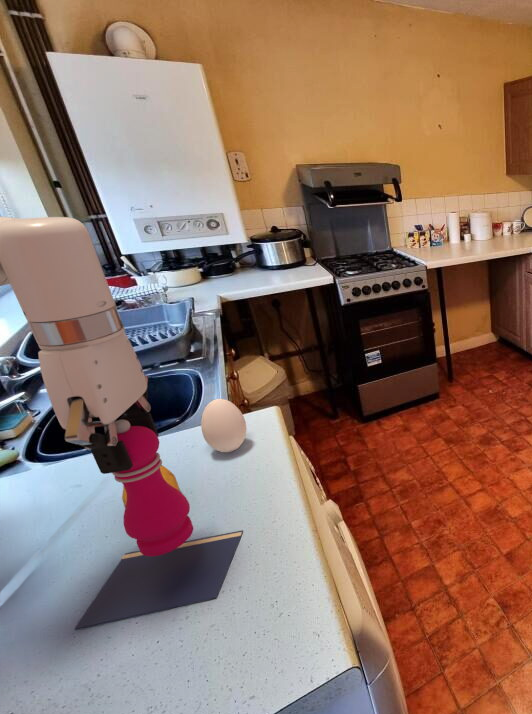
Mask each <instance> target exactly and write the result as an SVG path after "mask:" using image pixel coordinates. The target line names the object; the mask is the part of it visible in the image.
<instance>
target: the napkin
mask: <svg viewBox="0 0 532 714" xmlns="http://www.w3.org/2000/svg"><path fill="white" fill-rule="evenodd" d="M243 533H244V530H243V529H241V530H237V531H236V530H235V531H231V532H226V533H221V534H217V535H210V536H207V537H201V538H196V539H189V540H186V541H185V542H184V543H183V544H182V545H181V546H179V547H178V548H176V549H174V550H172V551H170V552H168V553H165V554H163V555H159V556H145V555H143V554H142V553H141V552H140V550H139V549H138V550H135V551H130V552H126V553H124V554H123V555H122V557H121V559H120V560H119V562H118V564H117V565H116V567H115V568H114V569H113V571H112V573H111V574H110V575H109V577H108V578H107V580H106V581H105V583H104V584H103V585H102V587H101V589H100V590H99V592H98V593H97V595H95V597H94V598H93V600H92V601H91V604H90V605H89V606H88V608H87V609H86V611H85V612H84V613H83V615H82V617H81V618H80V619H79V621H78V622H77V623H76V625H75V627H74V628H73V629H74V631H78V630H79V631H80V630H83V629H88V628H92V627H96V626H101V625H105V624H109V623H114V622H119V621H123V620H127V619H131V618H135V617H140V616H145V615H151V614H153V613H157V612H159V613H160V612H162V611H167V610H171V609H176V608H180V607H181V608H182V607H186V606H190V605H194V604H198V603H201V602H202V603H203V602H207V601H211V600H216V599H217V598H218V596H219V594H220V591H221V589H222V586H223V583H224V582H225V580H226V579H225V578H226V576H227V575H228V574H227V573H228V570H229V569H230V567H231V566H230V565H231V563H232V561H233V558H234V555H235V553H236V551H237V548H238V546H239V543H240V541H241V538H242V535H243Z"/></svg>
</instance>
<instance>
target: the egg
mask: <svg viewBox="0 0 532 714" xmlns="http://www.w3.org/2000/svg"><path fill="white" fill-rule="evenodd" d="M200 428H201V433H202V436H203V439H204V441H205V442H206V444H207V445H208V446H209V447H210V448H212V449H213V450H215V451H217V452H220V453H231V452H234V451H235V450H237V449H238V448H240V446H241V445H242V444H243V442H244V441H245V439H246V435H247V428H248V427H247V422H246V419H245V417H244V414H243V413H242V411H241V409H239V408H238V406H237V405H235V404H234V403H233V402H232V401H230V400H228V399H224V398H216V399H213V400H211V401H210V402H209V403H208V404H207V405H206V406H205V408H204V409H203V412H202V415H201V421H200Z"/></svg>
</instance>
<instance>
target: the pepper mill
mask: <svg viewBox="0 0 532 714" xmlns="http://www.w3.org/2000/svg"><path fill="white" fill-rule="evenodd" d="M115 421H116V429H117V437H118V441H123V442H124V445H125V447H126V449H127V452H128V454H129V457H130V459H131V461H132V464H133V467H132V468H131V469H130V470H126V471H120V472H114V473H111V474H112V475H113V476H114V480H115V481H116V482H117V483H121V484H122V485H124V487H125V490H126V493H127V502H126V507H125V506H124V512H123V527H124V530H125V533H126V535H127V536H128V537H129V538H131V539H134V540H136V545H137V548H138V551H139V550H140V552H141V553H142V554H143V555H145V556H159V555H163V554H165V553H168V552H170V551H172V550H174V549H176V548H178V547H179V546H181V545H182V544H183V543H184V542H185V541H189V540H190V537H191V536H192V534H193V532H194V525H193V522H192V520H191V517H190V516H188V515H189V513H190V509H191V507H190V503H189V501H188V498H187V497H186V496H185V494H183V493H182V492H181V490H180V491H179V490H177V489H176V488H174V487H172V486H171V485H170V484H168V483H167V482H166V481H165V479H164V478H163V476H162V474H161V470H160V466H161V465H163V460H162V459H161V455H160V454H159V452H158V450H159V449H160V439H159V436H158V437H157V435H156V434H155V433H154V432H153V431H152V430H151V429H149V428H147V427H143V426H130V423H129V422H128V421H127V420H121V419H118V420H115Z"/></svg>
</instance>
